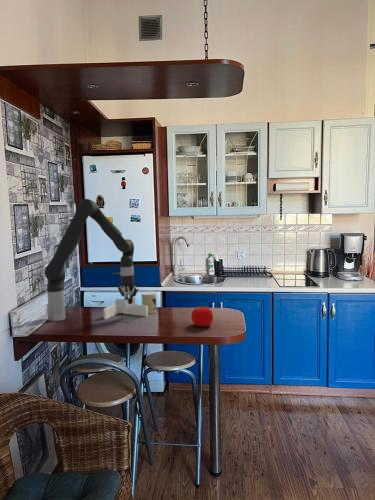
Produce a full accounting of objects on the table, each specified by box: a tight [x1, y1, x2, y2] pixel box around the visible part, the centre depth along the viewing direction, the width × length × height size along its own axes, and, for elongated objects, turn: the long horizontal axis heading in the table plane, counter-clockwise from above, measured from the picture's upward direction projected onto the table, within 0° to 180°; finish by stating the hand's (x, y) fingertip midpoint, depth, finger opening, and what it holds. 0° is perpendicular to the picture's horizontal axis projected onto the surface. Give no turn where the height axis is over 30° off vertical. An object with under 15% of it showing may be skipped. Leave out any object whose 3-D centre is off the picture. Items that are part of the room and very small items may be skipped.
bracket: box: [114, 296, 136, 309], centre depth 218 cm, size 10×7×5 cm
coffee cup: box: [140, 291, 157, 315], centre depth 229 cm, size 9×9×12 cm
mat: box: [113, 314, 140, 324], centre depth 217 cm, size 10×12×1 cm
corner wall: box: [102, 304, 149, 320], centre depth 220 cm, size 21×15×6 cm
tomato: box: [190, 305, 214, 328], centre depth 200 cm, size 12×12×10 cm
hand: (128, 303), depth 216 cm, fingers closed on bracket
